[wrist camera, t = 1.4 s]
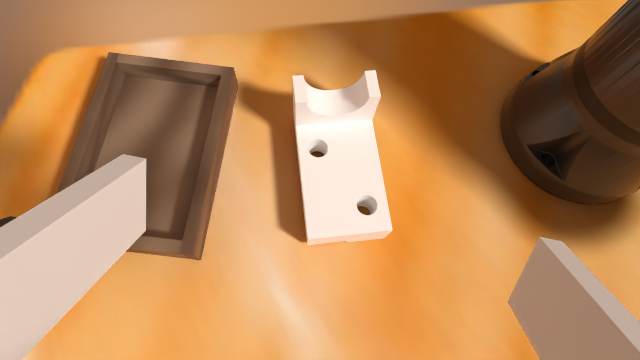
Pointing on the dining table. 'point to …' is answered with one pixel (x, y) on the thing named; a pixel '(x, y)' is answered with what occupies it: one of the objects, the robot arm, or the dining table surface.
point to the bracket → (340, 161)
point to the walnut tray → (161, 142)
